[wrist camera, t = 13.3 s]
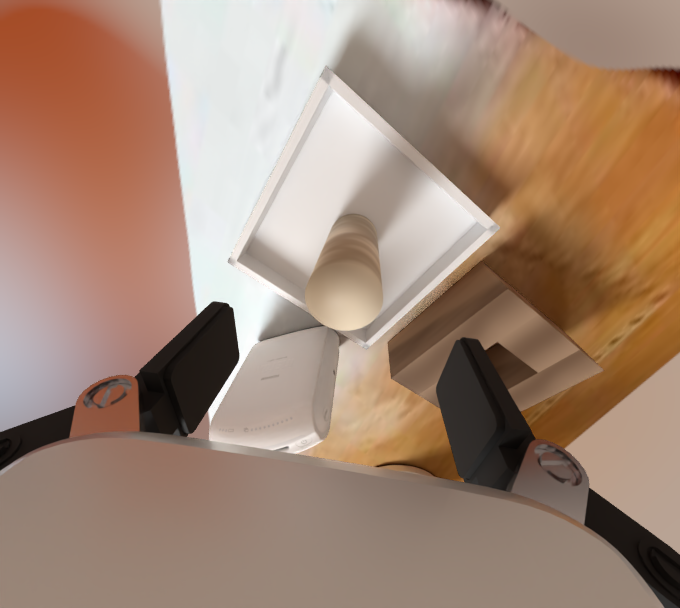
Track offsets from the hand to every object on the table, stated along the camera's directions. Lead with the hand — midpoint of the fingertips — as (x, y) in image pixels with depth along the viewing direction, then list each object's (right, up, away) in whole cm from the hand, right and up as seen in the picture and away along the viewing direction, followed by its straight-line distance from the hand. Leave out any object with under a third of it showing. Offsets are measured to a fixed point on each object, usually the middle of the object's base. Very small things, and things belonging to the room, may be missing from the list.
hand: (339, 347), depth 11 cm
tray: (+1, +8, +11) cm, 13 cm away
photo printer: (-5, -3, +18) cm, 19 cm away
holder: (+14, -2, +15) cm, 21 cm away
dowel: (+1, +7, +11) cm, 13 cm away
